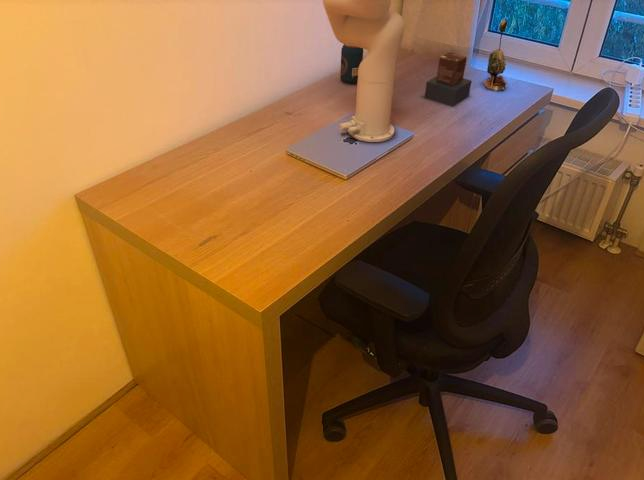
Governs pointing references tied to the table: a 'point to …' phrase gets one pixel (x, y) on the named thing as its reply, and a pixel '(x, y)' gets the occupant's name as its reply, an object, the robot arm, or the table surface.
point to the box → (451, 68)
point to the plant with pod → (497, 65)
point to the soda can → (350, 64)
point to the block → (447, 91)
